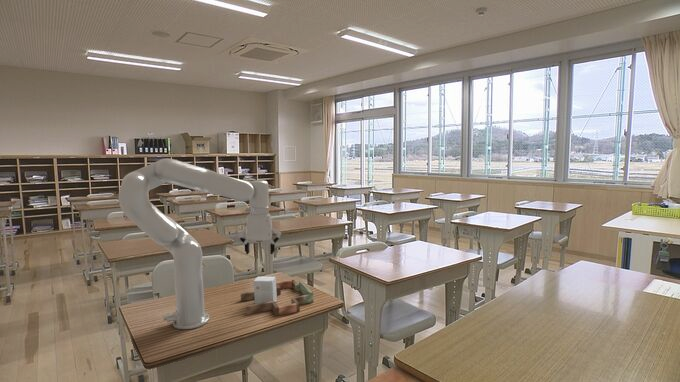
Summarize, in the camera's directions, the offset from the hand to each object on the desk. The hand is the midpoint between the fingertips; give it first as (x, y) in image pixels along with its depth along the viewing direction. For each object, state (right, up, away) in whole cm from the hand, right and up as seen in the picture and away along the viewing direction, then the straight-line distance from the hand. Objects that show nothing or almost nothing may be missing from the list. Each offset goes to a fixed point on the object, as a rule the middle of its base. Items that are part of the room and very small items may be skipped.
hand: (259, 253), depth 150 cm
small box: (+2, -22, +5) cm, 22 cm away
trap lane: (+5, -21, +6) cm, 23 cm away
